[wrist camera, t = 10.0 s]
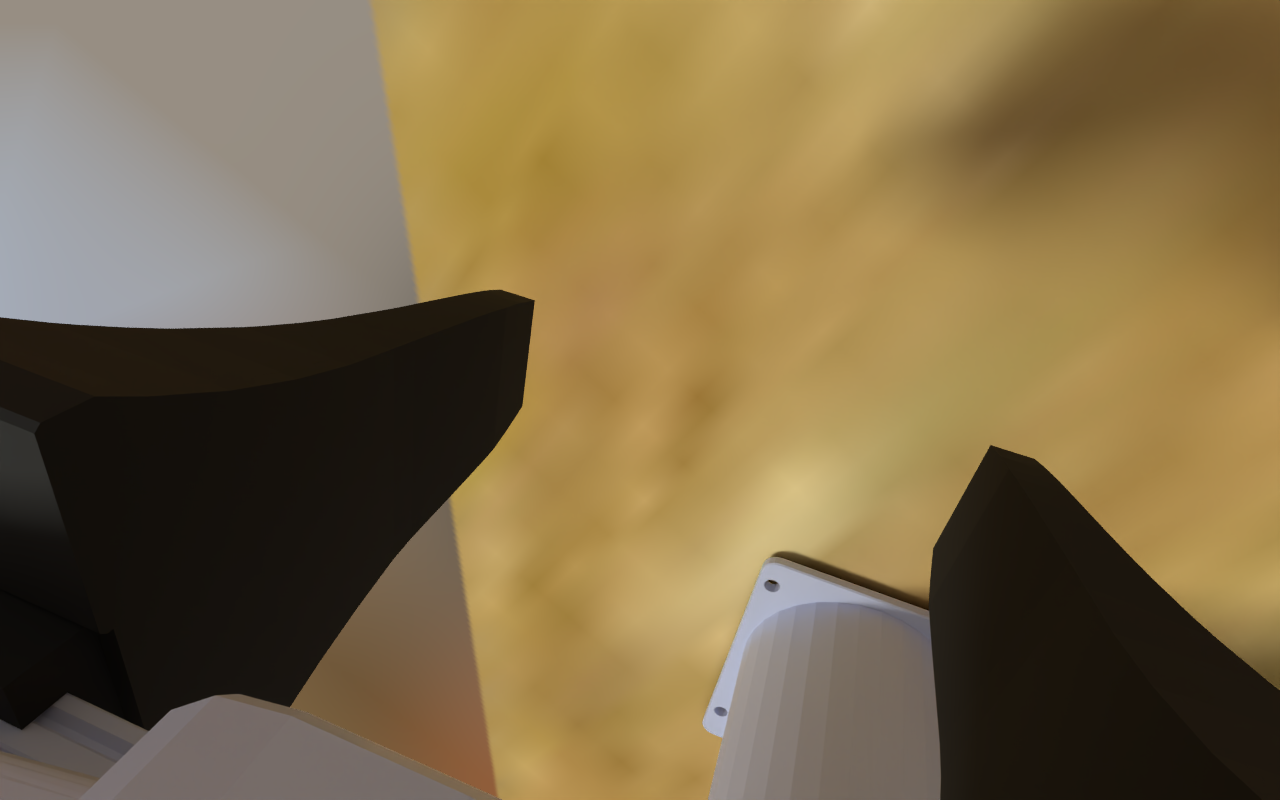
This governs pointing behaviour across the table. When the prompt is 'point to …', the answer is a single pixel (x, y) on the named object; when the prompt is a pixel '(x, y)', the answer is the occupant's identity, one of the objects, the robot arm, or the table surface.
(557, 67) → the table surface
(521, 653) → the table surface
